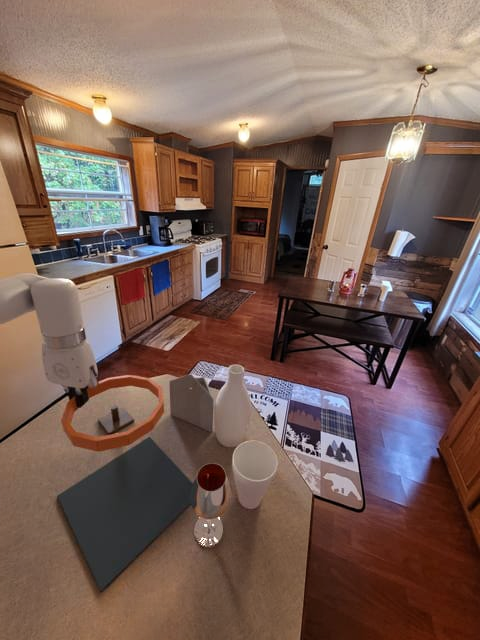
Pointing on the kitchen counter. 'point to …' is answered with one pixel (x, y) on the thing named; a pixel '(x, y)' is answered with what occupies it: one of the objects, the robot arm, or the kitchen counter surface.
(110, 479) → the mat
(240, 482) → the cup
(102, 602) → the kitchen counter surface
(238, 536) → the kitchen counter surface
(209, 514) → the wineglass
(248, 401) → the bottle
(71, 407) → the hoop
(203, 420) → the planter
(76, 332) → the robot arm
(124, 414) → the peg
